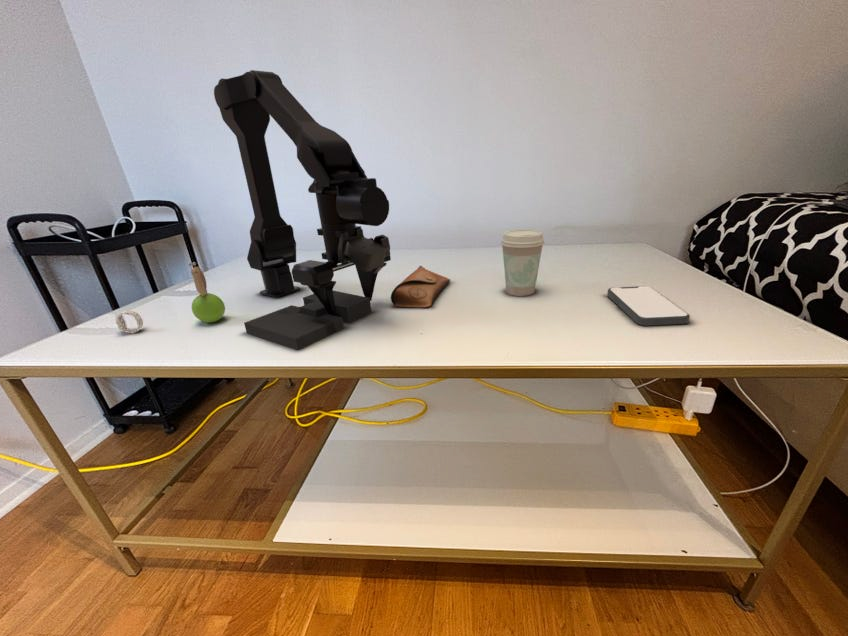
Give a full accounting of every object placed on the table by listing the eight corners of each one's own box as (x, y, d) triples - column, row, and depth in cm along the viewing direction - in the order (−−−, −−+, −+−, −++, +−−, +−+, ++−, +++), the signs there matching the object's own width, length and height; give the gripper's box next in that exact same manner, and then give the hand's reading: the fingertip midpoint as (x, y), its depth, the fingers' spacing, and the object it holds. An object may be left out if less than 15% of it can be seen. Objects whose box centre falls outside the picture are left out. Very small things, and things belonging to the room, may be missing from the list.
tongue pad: (289, 318, 78) (286, 303, 76) (329, 303, 85) (326, 289, 84) (333, 330, 72) (330, 314, 70) (371, 312, 79) (369, 297, 78)
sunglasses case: (432, 305, 79) (413, 276, 77) (404, 321, 82) (385, 293, 80) (452, 279, 95) (436, 254, 93) (427, 293, 98) (412, 269, 96)
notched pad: (246, 333, 72) (243, 322, 71) (293, 314, 80) (291, 305, 79) (297, 350, 65) (295, 338, 64) (344, 328, 72) (342, 317, 72)
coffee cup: (495, 296, 84) (495, 236, 79) (505, 284, 91) (507, 228, 86) (536, 299, 81) (540, 237, 76) (544, 287, 88) (548, 229, 83)
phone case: (691, 325, 68) (648, 293, 82) (694, 316, 67) (650, 285, 81) (638, 328, 68) (604, 295, 82) (639, 319, 67) (605, 287, 81)
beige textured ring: (147, 328, 76) (139, 307, 75) (143, 332, 75) (134, 311, 73) (126, 331, 76) (116, 310, 74) (121, 335, 74) (111, 314, 72)
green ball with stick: (196, 331, 74) (173, 265, 69) (197, 319, 79) (175, 257, 74) (229, 324, 76) (209, 260, 71) (228, 314, 82) (209, 253, 76)
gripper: (328, 234, 59) (345, 334, 66) (409, 215, 73) (416, 299, 80) (280, 230, 65) (300, 322, 72) (363, 212, 78) (373, 291, 85)
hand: (351, 308), depth 77 cm, fingers open, 9 cm apart
